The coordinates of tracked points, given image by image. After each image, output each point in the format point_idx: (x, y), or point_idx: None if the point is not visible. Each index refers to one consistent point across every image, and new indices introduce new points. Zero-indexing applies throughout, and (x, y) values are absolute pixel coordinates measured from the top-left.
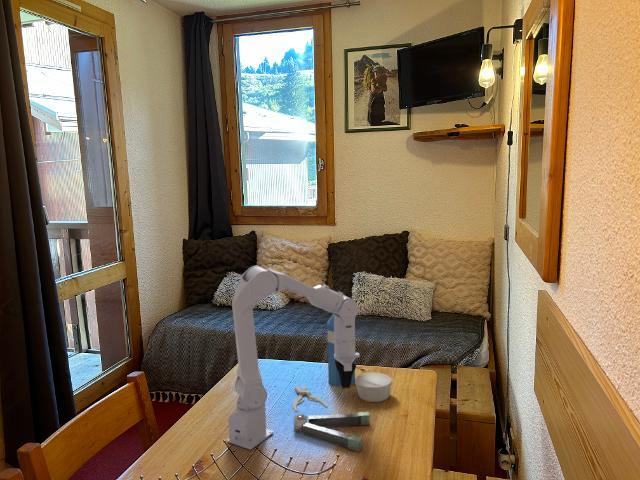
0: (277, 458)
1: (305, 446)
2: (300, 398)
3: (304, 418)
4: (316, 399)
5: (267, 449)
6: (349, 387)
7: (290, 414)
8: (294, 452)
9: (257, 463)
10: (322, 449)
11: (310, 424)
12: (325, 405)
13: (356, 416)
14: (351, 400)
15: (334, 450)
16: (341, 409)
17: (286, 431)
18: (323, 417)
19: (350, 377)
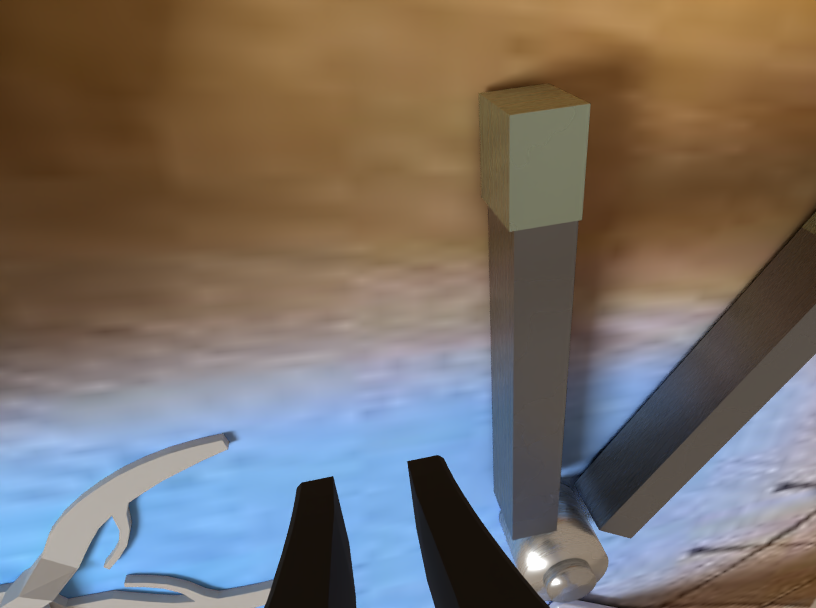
0: (767, 528)
1: None
2: (125, 602)
3: (574, 555)
4: (104, 520)
5: (686, 574)
6: (443, 462)
7: None
8: (746, 485)
9: (774, 573)
10: None
11: (628, 508)
12: (209, 453)
13: (576, 234)
14: (16, 266)
15: None
16: (241, 334)
17: None
18: (551, 462)
19: (531, 606)
